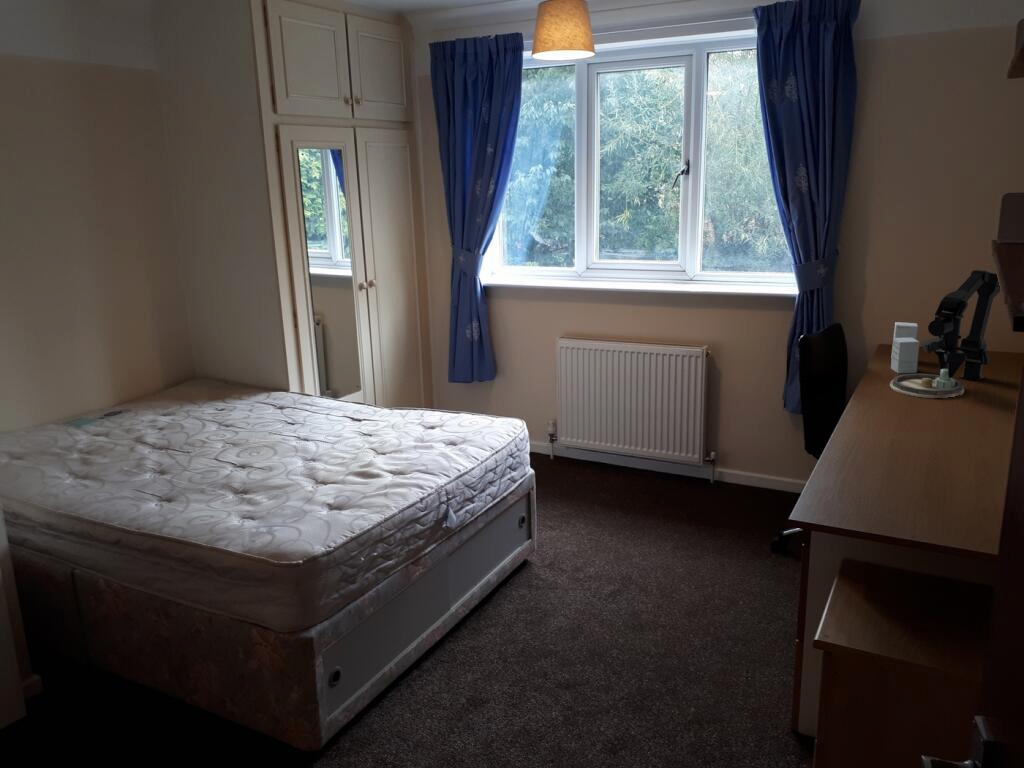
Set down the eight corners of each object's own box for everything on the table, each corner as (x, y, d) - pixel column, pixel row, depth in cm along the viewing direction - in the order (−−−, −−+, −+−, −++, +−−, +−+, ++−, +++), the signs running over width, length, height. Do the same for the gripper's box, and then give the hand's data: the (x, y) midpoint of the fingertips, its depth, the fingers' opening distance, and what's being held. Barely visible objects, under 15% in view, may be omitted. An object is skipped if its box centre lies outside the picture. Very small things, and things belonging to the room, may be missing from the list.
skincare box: (891, 362, 322) (895, 325, 318) (890, 358, 328) (894, 321, 324) (914, 363, 319) (918, 325, 315) (913, 359, 325) (917, 322, 321)
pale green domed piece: (940, 382, 290) (942, 366, 288) (957, 386, 285) (959, 370, 284) (931, 385, 287) (933, 370, 285) (948, 389, 282) (950, 373, 280)
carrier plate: (912, 375, 303) (913, 366, 302) (977, 389, 284) (978, 379, 283) (876, 388, 291) (876, 379, 290) (941, 402, 271) (942, 393, 270)
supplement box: (909, 368, 314) (912, 337, 310) (917, 373, 306) (920, 341, 303) (890, 368, 314) (892, 337, 311) (897, 373, 307) (899, 341, 304)
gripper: (918, 326, 291) (914, 367, 295) (934, 337, 273) (929, 381, 278) (951, 325, 289) (946, 367, 293) (969, 337, 271) (964, 381, 275)
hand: (945, 374), depth 285 cm, fingers open, 9 cm apart
